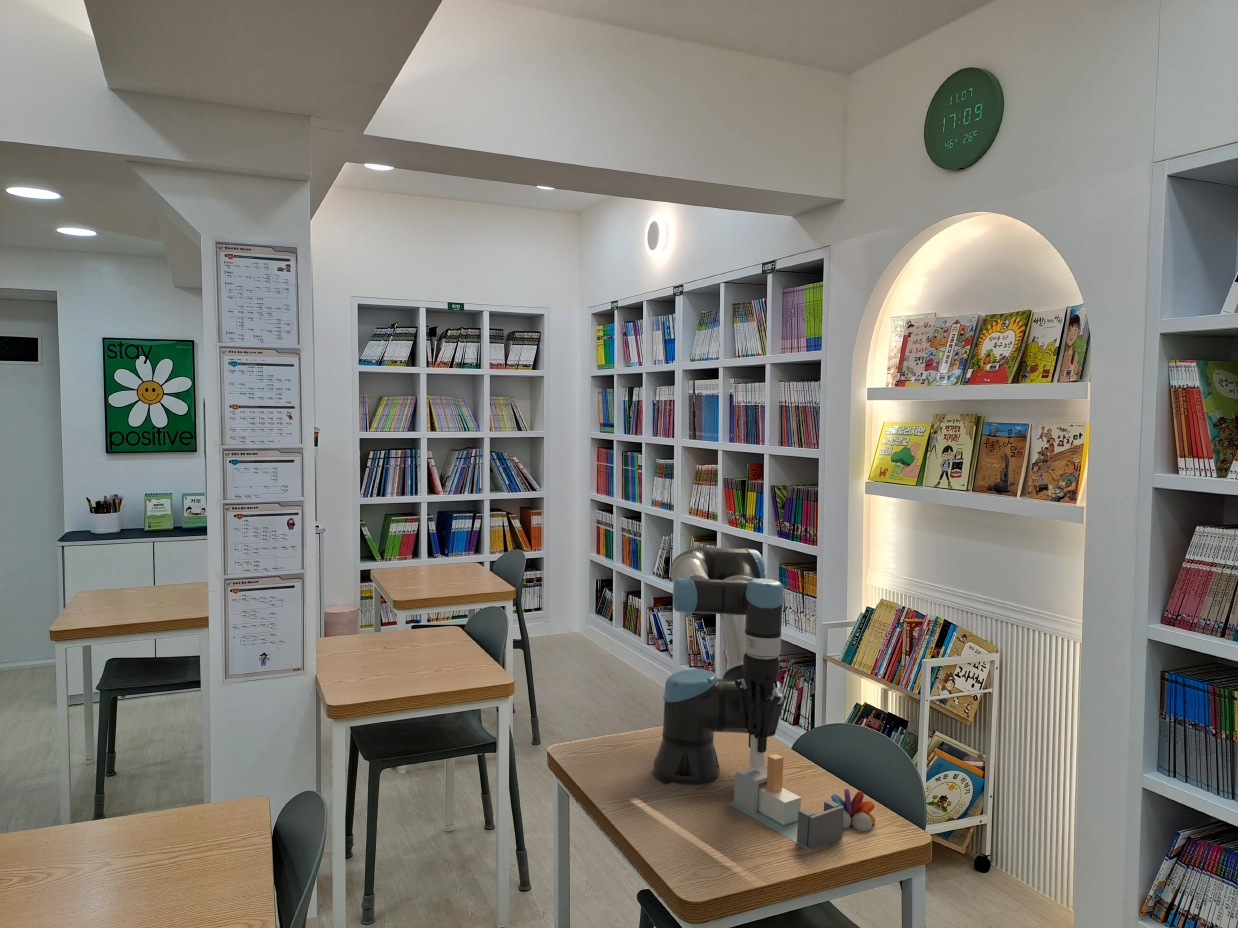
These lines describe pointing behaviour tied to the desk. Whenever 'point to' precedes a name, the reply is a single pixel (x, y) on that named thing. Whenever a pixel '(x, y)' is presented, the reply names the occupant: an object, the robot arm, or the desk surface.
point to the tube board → (809, 826)
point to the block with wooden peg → (777, 795)
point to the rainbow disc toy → (856, 811)
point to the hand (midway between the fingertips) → (756, 765)
